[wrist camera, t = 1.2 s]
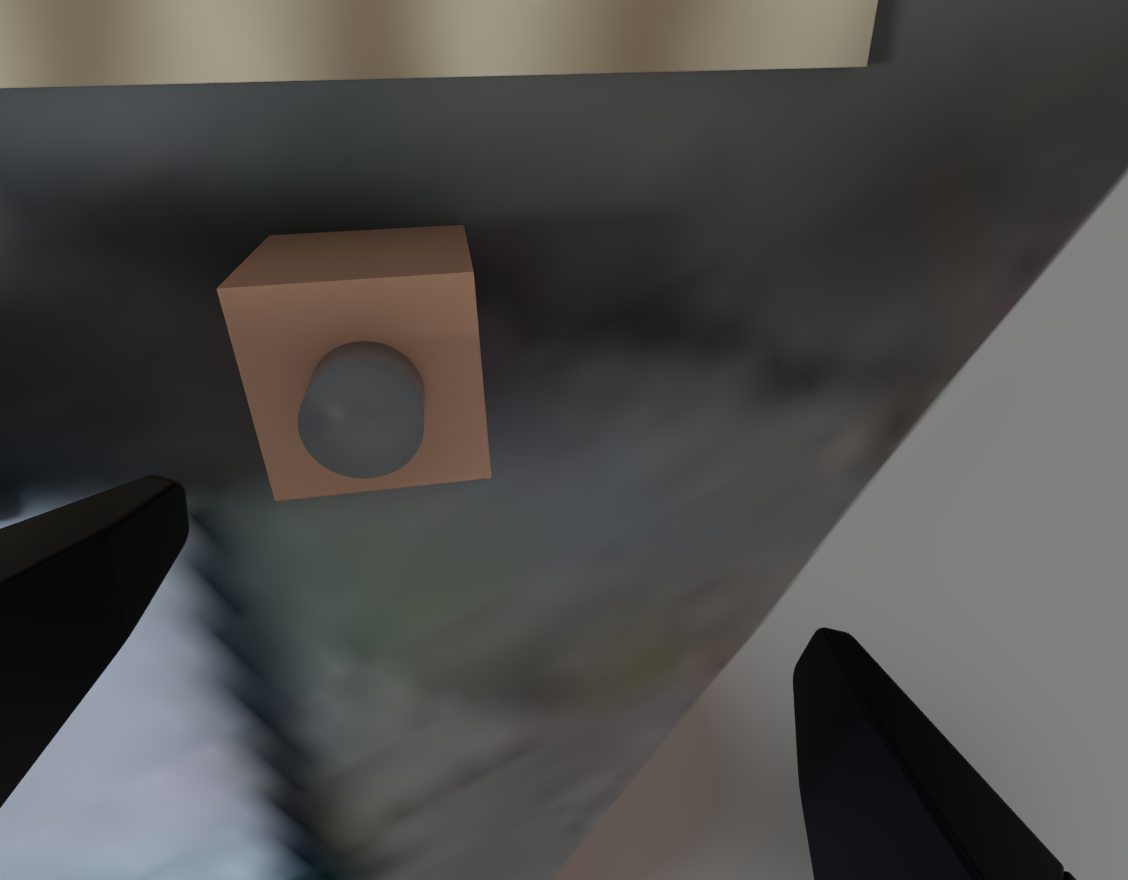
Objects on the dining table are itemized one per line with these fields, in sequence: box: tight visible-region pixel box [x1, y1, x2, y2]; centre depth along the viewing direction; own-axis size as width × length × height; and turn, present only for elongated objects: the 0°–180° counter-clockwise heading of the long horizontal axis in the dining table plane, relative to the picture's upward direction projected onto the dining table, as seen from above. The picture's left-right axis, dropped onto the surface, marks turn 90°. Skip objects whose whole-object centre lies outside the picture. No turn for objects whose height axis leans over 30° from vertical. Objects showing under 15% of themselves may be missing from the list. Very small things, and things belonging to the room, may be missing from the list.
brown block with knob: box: [217, 225, 491, 501], centre depth 16 cm, size 5×5×7 cm
